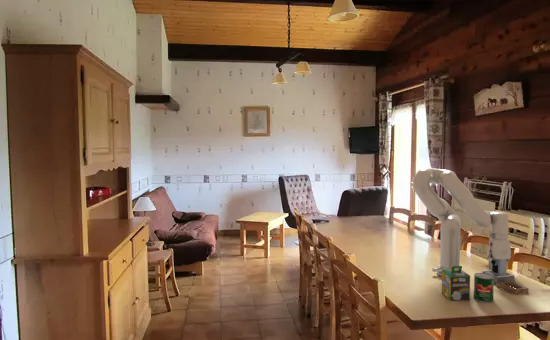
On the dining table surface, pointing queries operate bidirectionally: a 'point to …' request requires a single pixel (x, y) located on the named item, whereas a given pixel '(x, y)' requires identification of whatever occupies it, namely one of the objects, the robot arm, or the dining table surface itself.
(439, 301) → the dining table surface
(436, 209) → the robot arm
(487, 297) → the canned tomato
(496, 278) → the port
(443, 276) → the chalk box
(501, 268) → the light blue block
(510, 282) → the brown rectangular tray
